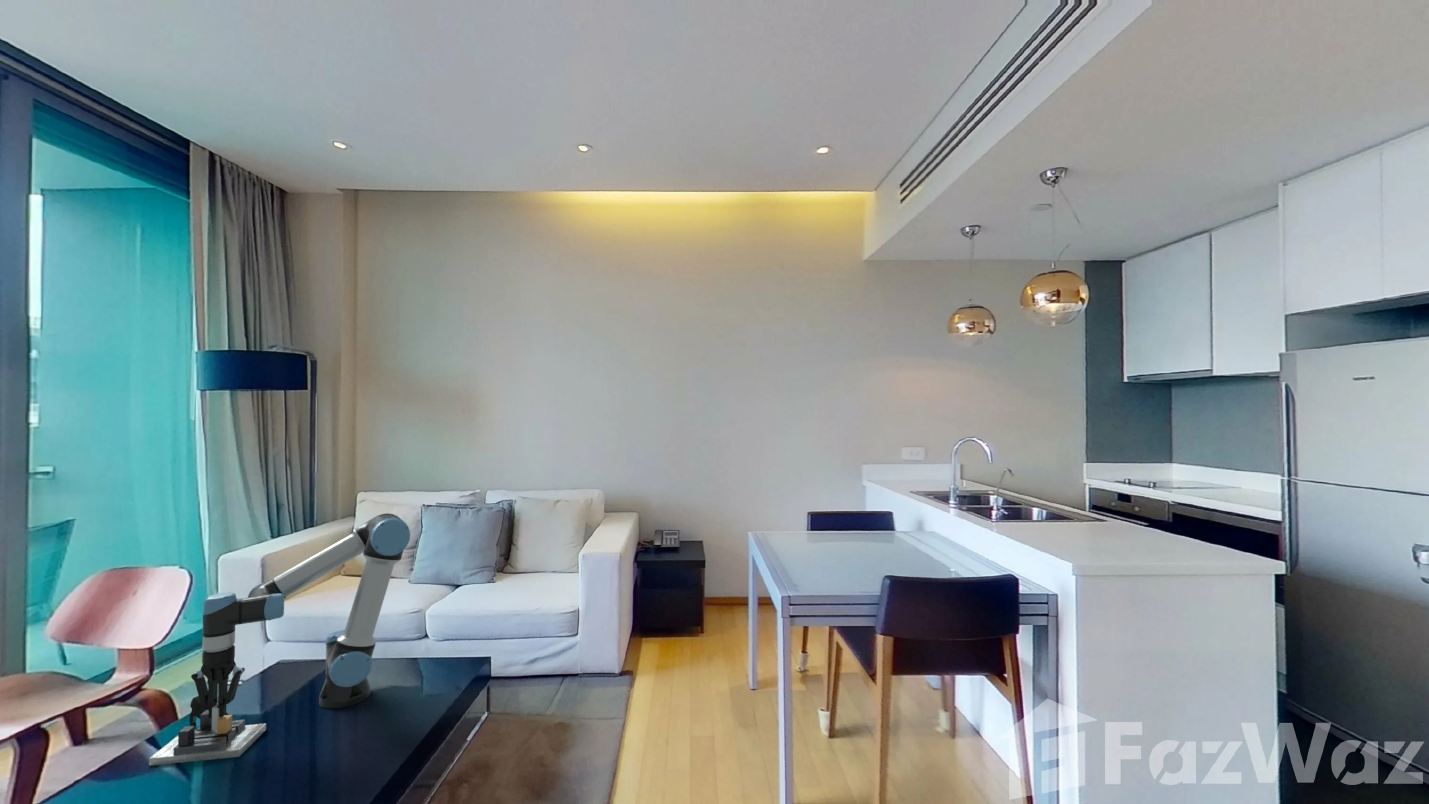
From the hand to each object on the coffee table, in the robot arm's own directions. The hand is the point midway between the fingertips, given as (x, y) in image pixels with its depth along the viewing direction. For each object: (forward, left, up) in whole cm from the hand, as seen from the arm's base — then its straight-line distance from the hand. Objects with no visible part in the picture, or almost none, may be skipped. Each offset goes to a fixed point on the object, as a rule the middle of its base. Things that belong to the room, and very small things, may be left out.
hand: (217, 727), depth 179 cm
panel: (+2, 0, -5) cm, 6 cm away
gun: (+8, -12, -6) cm, 15 cm away
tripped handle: (-2, 0, -1) cm, 2 cm away
